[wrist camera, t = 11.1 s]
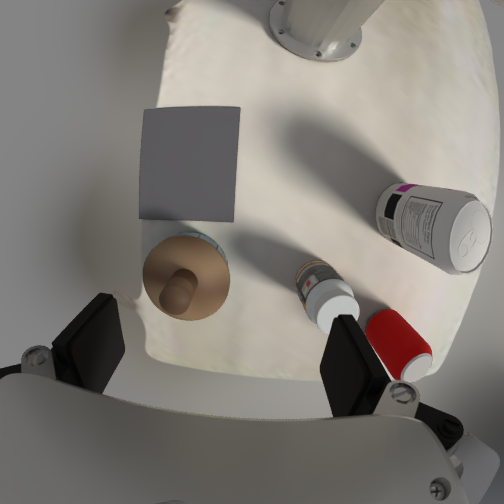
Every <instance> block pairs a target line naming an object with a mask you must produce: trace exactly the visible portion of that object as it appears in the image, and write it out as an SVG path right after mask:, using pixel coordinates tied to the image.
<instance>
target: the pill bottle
mask: <svg viewBox="0 0 504 504" xmlns="http://www.w3.org/2000/svg"><path fill="white" fill-rule="evenodd" d="M295 288H296V291H297V293H298V296H299V298H300V300H301V302H302V304H303V306H304V309H305V311H306V313H307V315H308V317H309V318H310V320H311V321H312V322H314V323H315V324H317V326H318V328H319V329H320V330H321V331H322V332H323V333H325V334H328V335H329V333H330V329H331V326H332V322H333V319H334V318H335V317H337V316H338V315H339V314H352V315H353V316H354V318H355V320H356V321H357V319H358V317H359V305H358V303H357V301H356V300H355V299H354V295H353V291H352V289H351V287H350V286H349V285H348V283H347V282H346V281H345V280H344V279H343V278H342V277H341V276H340V275H339V274H338V273H337V271H336V270H335V269H334V268H333V267H332V266H330V265H329V264H328V263H326V262H323V261H313V262H309V263H307V264H305V265H304V266H303V267H302V268H301V269H300V270H299V272H298V273H297V276H296V279H295Z"/></svg>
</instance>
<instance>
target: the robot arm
mask: <svg viewBox="0 0 504 504" xmlns="http://www.w3.org/2000/svg"><path fill="white" fill-rule="evenodd" d="M384 1H385V0H277V2H276V3H275V4H274V5H273V6H272V8H271V10H270V15H269V25H270V29H271V31H272V33H273V35H274V36H275V38H276V39H277V40H278V42H280V43H281V44H282V45H283V46H284V47H285V48H287V49H288V50H289V51H291V52H292V53H294V54H296V55H298V56H300V57H303V58H306V59H309V60H313V61H318V62H337V61H341V60H344V59H346V58H348V57H350V56H351V55H352V54H353V53H354V52H355V51H356V50H357V49H358V48H359V46H360V44H361V40H362V30H361V26H362V25H363V24H364V23H365V22H366V21H367V20H368V18H369V17H370V16H371V15H372V14H373V13H374V12H375V11H376V10H377V8H378V7H379V6H380V5H381V4H382V3H383V2H384ZM491 1H492V2H494V3H496V4H497V5H499V6H501V7H504V0H491ZM316 55H317V56H316ZM52 345H53V347H52V349H51V350H50V349H49V348H48V347H46V346H41V345H38V346H33V347H30V348H29V349H27V350H26V351H25V352H24V353H23V355H22V358H21V364H17V365H13V366H9V367H5V368H1V369H0V504H479V502H480V501H481V499H482V497H483V496H484V494H485V492H486V491H487V489H488V487H489V485H490V483H491V481H492V479H493V478H494V476H495V474H496V471H497V470H498V468H499V464H500V459H499V456H498V454H497V453H496V452H495V451H493V450H492V449H490V448H489V447H488V446H486V445H485V444H484V443H482V442H481V441H479V440H478V439H476V438H475V437H473V436H472V435H471V434H469V433H467V434H466V435H465V434H463V431H464V429H463V425H462V423H461V422H460V421H459V420H458V419H457V418H456V417H454V416H452V415H450V414H447V413H445V412H442V411H440V410H437V409H435V408H433V407H430V406H428V405H426V404H423V403H421V402H419V400H420V394H419V391H418V389H417V388H416V387H415V386H414V385H412V384H411V383H409V382H407V381H403V380H395V381H391V380H390V378H389V376H388V374H387V372H386V371H385V369H384V367H383V365H382V364H381V362H380V360H379V358H378V357H377V355H376V353H375V351H374V350H373V348H372V346H371V345H370V343H369V341H368V340H367V338H366V336H365V335H364V333H363V331H362V330H361V328H360V326H359V325H358V323H357V321H356V320H355V318H354V316H353V315H352V314H339V315H338V316H337V317H335V318H334V319H333V322H332V326H331V329H330V333H329V337H328V340H327V344H326V347H325V351H324V354H323V357H322V361H321V364H320V374H321V377H322V380H323V384H324V387H325V391H326V394H327V397H328V401H329V404H330V407H331V411H332V414H333V417H331V418H313V419H312V418H310V419H252V418H236V417H223V416H213V415H204V414H195V413H188V412H181V411H175V410H169V409H163V408H158V407H153V406H148V405H144V404H139V403H134V402H130V401H126V400H121V399H117V398H114V397H111V396H107V395H104V394H102V393H103V391H104V389H105V387H106V386H107V384H108V382H109V380H110V378H111V376H112V375H113V373H114V371H115V369H116V367H117V366H118V364H119V362H120V360H121V359H122V357H123V355H124V353H125V345H124V340H123V335H122V330H121V324H120V319H119V312H118V306H117V300H116V299H115V298H114V297H113V295H112V294H106V293H99V294H98V295H97V296H96V297H95V298H94V299H93V300H92V301H91V302H90V303H89V304H88V305H87V306H86V307H85V308H84V309H83V310H82V311H81V312H80V313H79V314H78V315H77V316H76V317H75V318H74V319H73V320H72V321H71V322H70V323H69V325H68V326H67V327H66V328H65V329H64V330H63V331H62V332H61V333H60V334H59V335H58V336H57V338H56V339H55V340H54V341H53V342H52Z"/></svg>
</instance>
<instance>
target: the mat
mask: <svg viewBox="0 0 504 504" xmlns="http://www.w3.org/2000/svg"><path fill="white" fill-rule="evenodd" d="M239 122H240V107H176V108H159V109H146V110H144V117H143V128H142V139H141V154H140V176H139V219H160V220H190V221H214V222H234V203H235V185H236V168H237V152H238V136H239Z"/></svg>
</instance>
